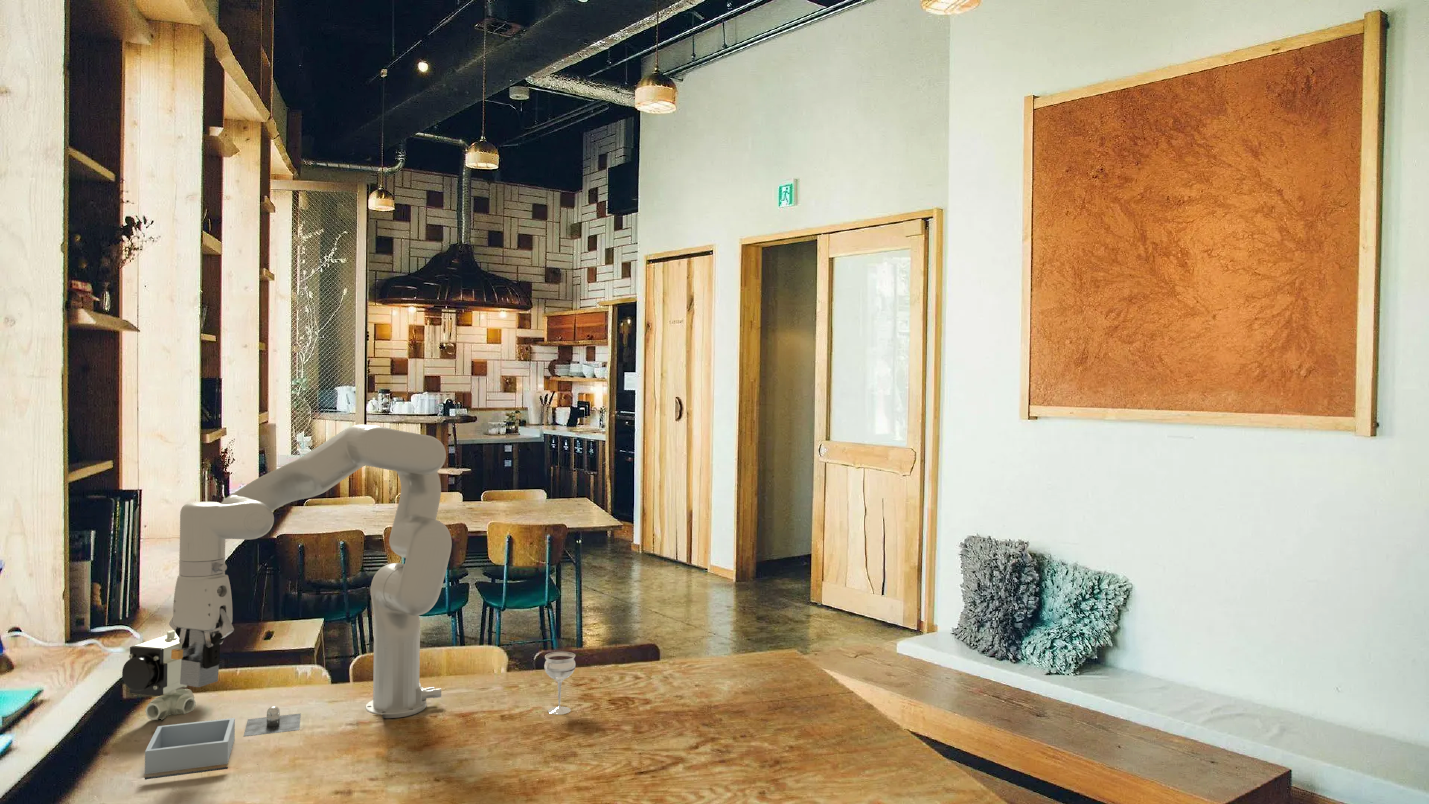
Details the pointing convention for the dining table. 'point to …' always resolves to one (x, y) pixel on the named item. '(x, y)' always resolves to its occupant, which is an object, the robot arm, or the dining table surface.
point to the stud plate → (263, 729)
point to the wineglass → (559, 674)
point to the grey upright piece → (195, 661)
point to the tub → (190, 747)
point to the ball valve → (158, 677)
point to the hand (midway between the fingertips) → (200, 664)
